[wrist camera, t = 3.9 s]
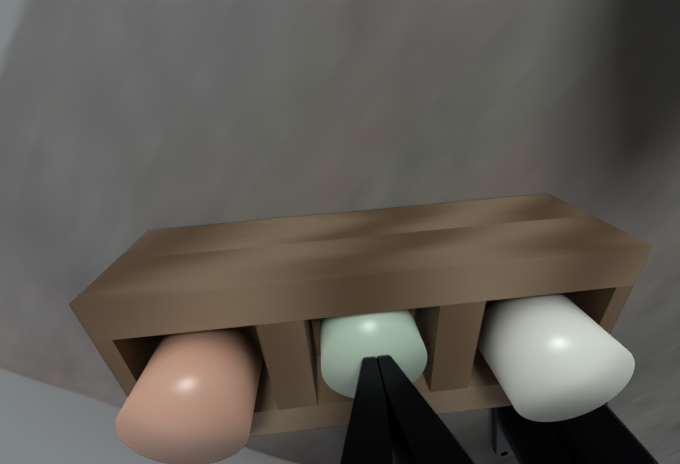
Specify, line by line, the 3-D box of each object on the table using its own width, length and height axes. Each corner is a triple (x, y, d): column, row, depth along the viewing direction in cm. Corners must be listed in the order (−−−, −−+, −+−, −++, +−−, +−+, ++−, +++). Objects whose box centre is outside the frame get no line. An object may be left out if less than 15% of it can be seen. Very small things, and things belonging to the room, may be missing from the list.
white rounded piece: (583, 281, 9) (656, 336, 7) (555, 353, 11) (608, 414, 9) (482, 292, 9) (527, 350, 7) (467, 363, 11) (502, 427, 9)
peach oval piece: (251, 316, 9) (233, 384, 7) (270, 385, 10) (260, 457, 8) (141, 327, 9) (91, 399, 7) (176, 396, 10) (143, 471, 8)
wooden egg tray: (547, 193, 11) (652, 245, 8) (513, 318, 14) (578, 397, 11) (148, 230, 11) (68, 304, 7) (198, 352, 14) (159, 446, 10)
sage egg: (408, 273, 10) (431, 320, 8) (405, 340, 12) (423, 393, 10) (315, 283, 10) (315, 332, 8) (323, 349, 12) (325, 404, 10)
